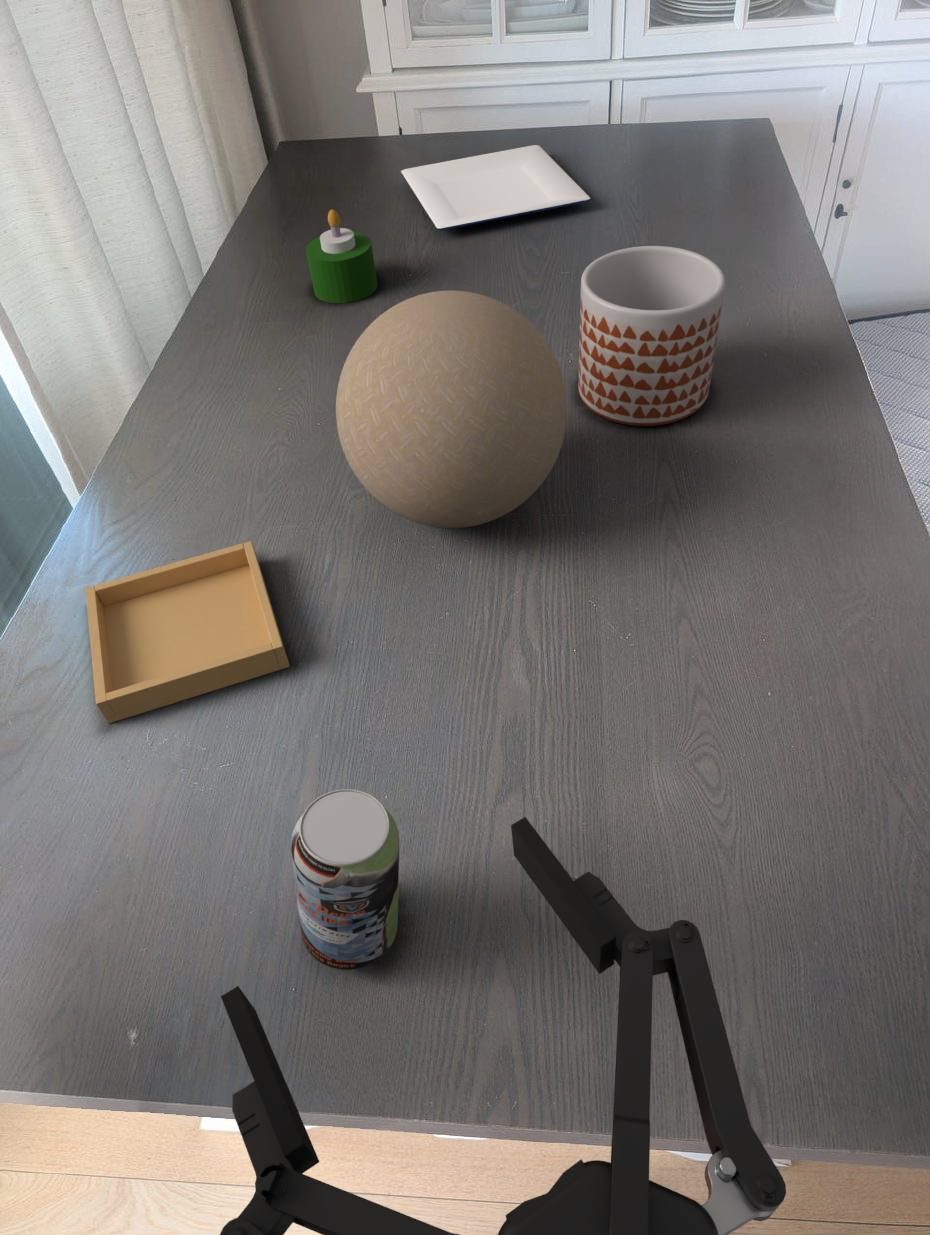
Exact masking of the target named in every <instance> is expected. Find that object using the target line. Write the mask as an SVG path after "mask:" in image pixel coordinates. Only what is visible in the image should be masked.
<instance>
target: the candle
mask: <svg viewBox="0 0 930 1235" xmlns="http://www.w3.org/2000/svg"><path fill="white" fill-rule="evenodd" d="M327 223H328V225H329V226H330V229H328V230H326V231H324V232H322V233H321V234H320V236H318V237H316V238H314V239H312V240H311V241H310V242H309V243H307V245H306V247H305V254H306V259H307V264H308V268H309V273H310V278H311V283H312V287H313V292H314V295H315V296H316V298H318V299H319V300H321V301H323V302H325V303H330V304H348V303H353V302H357V301H360V300H363V299H365V298H367V297H369V296H370V295H372V294H373V293H374V292H375V291H376V290H377V288H378V277H377V272H376V271H377V270H376V265H375V259H374V251H373V245H372V240H371V238H370V237H369V236H368V235H366V234H365V233H362V232H357V231H353V230H351V229H350V228H345V227H340V224H341V219H340V215H339V214H338V211H336V210H335V209H330V210H329V211H328V213H327Z"/></svg>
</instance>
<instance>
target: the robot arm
mask: <svg viewBox="0 0 930 1235" xmlns="http://www.w3.org/2000/svg"><path fill="white" fill-rule="evenodd" d="M510 830H511V839H512V849H513V850H512V852H513V856H514V858H515V860H517V862H518V863H519V865H520V866H521V867H522V869H523V870H524V872H525V873H526V874H527V876H528V877H529V879H530V880H531V881H532V883H533V884H534V886H535V887H536V888H537V890H538V891H539V893H540V894H541V896H543V898H544V900H545V901H546V902H547V903H548V905H549V907H550V908H551V909H552V910H553V912H554V913H555V914H556V916H557V917H558V920H560V922H561V923H562V925H563V926H564V927H565V929H566V930H567V931H568V933H569V934H570V936H571V937H572V938H573V940H574V941H575V943H576V944H577V946H578V947H579V948H580V949H581V951H582V952H583V954H584V955H585V956H586V958H587V960H588V961H589V962H590V963H591V965H592V966H593V968H594V969H595V970H596V972H597V973H598V975H601V974H602V973H603V972H605V971H607V970H608V969H610V968H611V967H613V966H614V965H615V963H616V964H617V965H618V967H619V984H618V986H619V987H618V1002H617V1003H618V1005H617V1026H616V1044H615V1045H616V1046H615V1067H614V1071H615V1072H614V1086H613V1087H614V1092H613V1111H612V1131H611V1147H610V1162H609V1161H605V1160H600V1159H599V1160H598V1159H597V1160H588V1161H583V1159H582V1158H581V1159H579V1160H578V1161H577V1162H575V1163H574V1164H572V1165H571V1166H569V1168H567V1169H566V1170H564V1171H563V1172H562V1173H561V1175H560V1176H559V1177H558V1179H556V1181H555V1183H554V1184H553V1185H552V1187H551V1188H550V1189H549V1191H548V1192H546V1193H544V1194H541V1195H538V1196H534V1197H533V1198H529V1199H527V1200H524V1201H523V1202H521V1203H520V1204H519V1205H517V1206H516V1207H514V1208H513V1209H512V1210H511V1211H509V1212H508V1213H507V1214H505V1221H504V1222H503V1224H502V1225H501V1226H500V1229H499V1230H498V1233H497V1235H730V1234H732V1233H733V1232H735V1231H737V1230H739V1229H740V1228H742V1227H743V1226H744V1225H746V1224H748V1223H750V1222H751V1221H756V1222H764V1221H766V1220H768V1219H769V1218H771V1216H772V1215H774V1213H775V1212H776V1210H777V1209H778V1208H779V1207H780V1205H782V1203H783V1202H784V1200H785V1197H786V1194H787V1186H786V1185H787V1184H786V1182H785V1180H784V1178H783V1175H782V1174H781V1172H780V1170H779V1169H778V1168H777V1166H776V1164H775V1163H774V1161H773V1159H772V1158H771V1156H770V1154H769V1153H768V1151H767V1149H766V1148H765V1146H764V1144H763V1143H762V1142H761V1139H760V1138H759V1136H758V1135H757V1133H756V1131H755V1130H754V1128H753V1126H752V1124H751V1121H750V1116H749V1114H748V1110H747V1105H746V1102H745V1098H744V1095H743V1090H742V1087H741V1086H742V1085H741V1082H740V1079H739V1076H738V1072H737V1067H736V1063H735V1060H734V1057H733V1053H732V1049H731V1045H730V1042H729V1041H730V1040H729V1038H728V1035H727V1034H728V1033H727V1031H726V1030H727V1029H726V1026H725V1023H724V1019H723V1016H722V1012H721V1008H720V1004H719V1000H718V996H717V993H716V988H715V986H714V981H713V977H712V974H711V970H710V966H709V963H708V959H707V955H706V951H705V948H704V945H703V939H702V937H701V936H702V935H701V932H700V930H699V928H698V927H697V925H696V924H695V923H693V922H692V921H690V920H687V919H679V920H676V921H674V922H673V923H672V924H671V925H670V927H665V928H661V929H657V930H646V929H644V928H641V927H640V926H638V925H637V924H636V923H635V922H634V920H632V918H631V916H630V915H629V914H628V913H627V911H626V910H625V909H624V907H623V906H622V905H621V904H620V903H619V901H618V900H617V898H616V897H614V895H613V894H612V893H611V891H610V890H609V889H608V887H607V886H606V885H605V883H604V882H603V881H602V879H601V878H600V877H598V876H597V875H596V874H593V873H592V872H590V871H587V872H585V873H584V874H582V875H581V876H579V877H577V878H576V879H573V878H572V876H571V875H570V874H569V873H568V871H567V870H566V868H565V867H564V866H563V865H562V863H561V862H560V861H559V859H558V857H556V856H555V854H554V853H553V851H552V850H551V849H550V847H549V845H547V843H546V842H545V841H544V840H543V838H542V837H541V836H540V834H539V833H538V831H537V830H536V829H535V827H534V826H533V825H532V824H531V823H530V821H529V819H528V818H527V817H526V816H524V817H523V818H521V819H519V820H517V821H516V822H514V823H512V824H510ZM666 973H667V975H668V976H667V977H668V980H669V985H670V989H671V993H672V997H673V1001H674V1006H675V1011H676V1014H677V1020H678V1023H679V1027H680V1032H681V1036H682V1041H683V1046H684V1049H685V1054H686V1057H687V1058H686V1059H687V1063H688V1065H689V1069H690V1070H689V1072H690V1075H691V1078H692V1083H693V1087H694V1088H693V1089H694V1092H695V1096H696V1100H697V1104H698V1105H697V1106H698V1109H699V1113H700V1118H701V1122H702V1126H703V1130H704V1134H705V1137H706V1142H707V1145H708V1148H709V1150H710V1153H711V1156H710V1158H709V1159H708V1161H707V1163H706V1165H705V1169H704V1180H705V1183H706V1187H707V1191H708V1192H707V1193H708V1194H707V1195H708V1197H707V1200H706V1201H705V1202H704V1203H703V1204H701V1203H700V1202H698V1201H697V1200H695V1199H693V1198H691V1197H689V1196H686V1195H684V1194H682V1193H679V1192H677V1191H675V1190H672V1189H671V1188H669V1187H666V1186H664V1185H662V1184H659V1183H657V1182H655V1181H652V1180H651V1179H650V1154H651V1153H650V1152H651V1119H650V1116H651V1114H650V1113H651V1074H652V1073H651V1072H652V1034H653V1033H652V1032H653V1031H652V1030H653V1029H652V1027H653V1025H652V1024H653V984H654V983H653V982H654V976H657V975H663V974H666ZM220 999H221V1002H222V1004H223V1006H224V1009H225V1012H226V1014H227V1016H228V1019H229V1021H230V1024H231V1026H232V1029H233V1031H234V1034H235V1037H236V1039H237V1041H238V1044H239V1046H240V1050H241V1052H242V1054H243V1056H244V1060H245V1061H246V1064H247V1067H248V1069H249V1072H250V1074H251V1077H252V1079H253V1081H252V1082H251V1083H249V1084H247V1085H246V1086H244V1087H243V1088H241V1089H240V1090H237V1091H236V1092H235V1093H233V1094H232V1098H231V1099H232V1101H231V1103H232V1104H231V1112H232V1114H233V1117H234V1119H235V1122H236V1125H237V1128H238V1130H239V1133H240V1135H241V1138H242V1141H243V1143H244V1146H245V1149H246V1151H247V1154H248V1157H249V1159H250V1160H249V1161H250V1163H251V1165H252V1168H253V1171H254V1173H255V1178H256V1179H255V1181H254V1186H255V1190H254V1194H253V1196H252V1197H251V1200H250V1201H249V1202H248V1204H247V1205H246V1206H245V1208H244V1209H243V1210H242V1211H241V1212H240V1214H239V1215H238V1216H237V1217H234V1218H233V1219H231V1220H229V1221H227V1223H226V1224H225V1225H224V1226H223V1227H222V1229H221V1231H220V1234H219V1235H285V1234H286V1232H287V1231H288V1230H289V1229H290V1227H291V1226H292V1224H294V1225H298V1226H301V1227H303V1228H305V1229H308V1230H310V1231H313V1232H315V1233H317V1234H320V1235H461V1234H460V1233H453V1232H450V1231H448V1230H446V1229H442V1228H439V1227H437V1226H435V1225H433V1224H430V1223H428V1222H425V1221H422V1220H420V1219H418V1218H414V1217H412V1216H409V1215H408V1214H404V1213H402V1212H400V1211H398V1210H395V1209H392V1208H390V1207H387V1206H385V1205H383V1204H380V1203H378V1202H375V1201H373V1200H369V1199H367V1198H364V1197H362V1196H360V1195H357V1194H354V1193H352V1192H350V1191H347V1190H345V1189H342V1188H339V1187H338V1186H334V1185H332V1184H329V1183H327V1182H324V1181H322V1180H319V1179H317V1178H314V1177H312V1176H310V1175H307V1174H305V1173H306V1172H307V1171H308V1170H310V1169H312V1168H313V1167H315V1166H316V1165H318V1164H319V1163H320V1159H319V1157H318V1154H317V1152H316V1149H315V1148H314V1144H313V1143H312V1140H311V1138H310V1136H309V1133H308V1131H307V1129H306V1126H305V1123H304V1121H303V1119H302V1117H301V1114H300V1112H299V1110H298V1107H297V1105H296V1103H295V1100H294V1098H293V1096H292V1093H291V1091H290V1088H289V1085H288V1084H287V1081H286V1078H285V1077H284V1074H283V1072H282V1069H281V1066H280V1065H279V1062H278V1059H277V1058H276V1055H275V1052H274V1051H273V1050H274V1049H273V1048H272V1046H271V1043H270V1041H269V1038H268V1036H267V1034H266V1031H265V1029H264V1026H263V1024H262V1021H261V1019H260V1018H259V1015H258V1012H257V1010H256V1009H255V1007H254V1006H253V1005H252V1003H251V1001H250V1000H249V999H248V997H247V996H246V995H245V993H244V992H243V990H242V989H241V987H240V985H237V986H236V987H233V988H232V989H230V990H229V991H227V992H225V993H223V994H222V995H220Z"/></svg>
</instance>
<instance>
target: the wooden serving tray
mask: <svg viewBox="0 0 930 1235" xmlns="http://www.w3.org/2000/svg"><path fill="white" fill-rule="evenodd" d="M84 590H85V600H86V602H85V603H86V611H87V621H88V622H87V623H88V631H89V642H90V643H89V644H90V653H91V654H90V655H91V662H92V663H91V664H92V675H93V686H94V687H93V688H94V697H95V705H96V706H97V708H98V709H99V711H100V713H101V714H102V716H103V717H104V719H105V720H106V722H107V724H111V723H115V722H118V721H122V720H125V719H128V718H131V717H134V716H137V715H141V714H144V713H147V712H150V711H153V710H156V709H160V708H163V707H166V706H169V705H172V704H175V703H179V702H182V701H185V700H189V699H191V698H194V697H198V696H202V695H204V694H207V693H211V692H214V691H217V690H220V689H223V688H226V687H230V686H233V685H236V684H239V683H243V682H245V681H248V680H252V679H256V678H258V677H262V676H265V675H269V674H271V673H274V672H277V671H281V670H283V669H287V668H290V663H289V659H288V655H287V652H286V650H285V645H284V641H283V639H282V635H281V632H280V629H279V626H278V622H277V619H276V614H275V612H274V609H273V606H272V602H271V599H270V595H269V592H268V589H267V585H266V582H265V579H264V575H263V571H262V569H261V566H260V562H259V559H258V555H257V552H256V549H255V547H254V543H253V541H252V540H249V541H246V542H243V543H238V544H235V545H231V546H228V547H227V546H226V547H224V548H221V549H217V550H214V551H210V552H206V553H202V554H199V555H196V556H193V557H188V558H186V559H182V560H178V561H176V562H175V561H174V562H171V563H167V564H165V565H164V564H163V565H161V566H157V567H154V568H150V569H147V570H144V571H140V572H136V573H133V574H130V575H126V576H122V577H119V578H115V579H111V580H108V581H105V582H102V583H97V584H95V585H90V586H87V587H85V588H84Z"/></svg>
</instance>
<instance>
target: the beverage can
mask: <svg viewBox="0 0 930 1235" xmlns="http://www.w3.org/2000/svg"><path fill="white" fill-rule="evenodd" d="M290 855H291V861H292V862H291V863H292V870H293V878H294V886H295V894H296V902H297V911H298V918H299V926H300V927H299V928H300V935H301V939H302V942H303V945H304V947H305V948H306V950H307V951H308V953H309V954H310V955H311V956H312V957H313V958H314V959H315V961H318V962H319V963H320V964H322V965H324V966H326V967H329V968H331V969H335V970H339V971H340V970H341V971H351V970H352V971H353V970H358V969H361V968H365V967H367V966H369V965H371V964H373V963H375V962H376V961H378V960H380V959H381V958H382V957H383V956H384V955H385V954H386V953H387V952H388V951H389V949H390V947H391V946H392V944H393V943H394V941H395V938H396V936H397V931H398V922H399V921H398V920H399V919H398V918H399V884H400V883H399V881H400V880H399V879H400V878H399V876H400V872H399V871H400V833H399V828H398V826H397V823H396V820H395V819H394V818H393V816H392V814H391V813H390V811H389V810H387V808H385V806H384V805H383V804H382V803H381V801H380V800H378V799H377V798H376V797H375V796H373V795H371V794H369V793H368V792H364V791H362V790H358V789H353V788H352V789H349V788H344V789H336V790H331V791H329V792H326V793H323V794H322V795H320V796H318V797H317V798H316V799H314V800H313V801H311V802H310V803H309V805H308V806H307V807H306V808H305V810H304V812H303V813H302V815H300V817H299V819H298V821H297V822H296V823H295V826H294V828H293V831H292V834H291V839H290Z"/></svg>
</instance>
